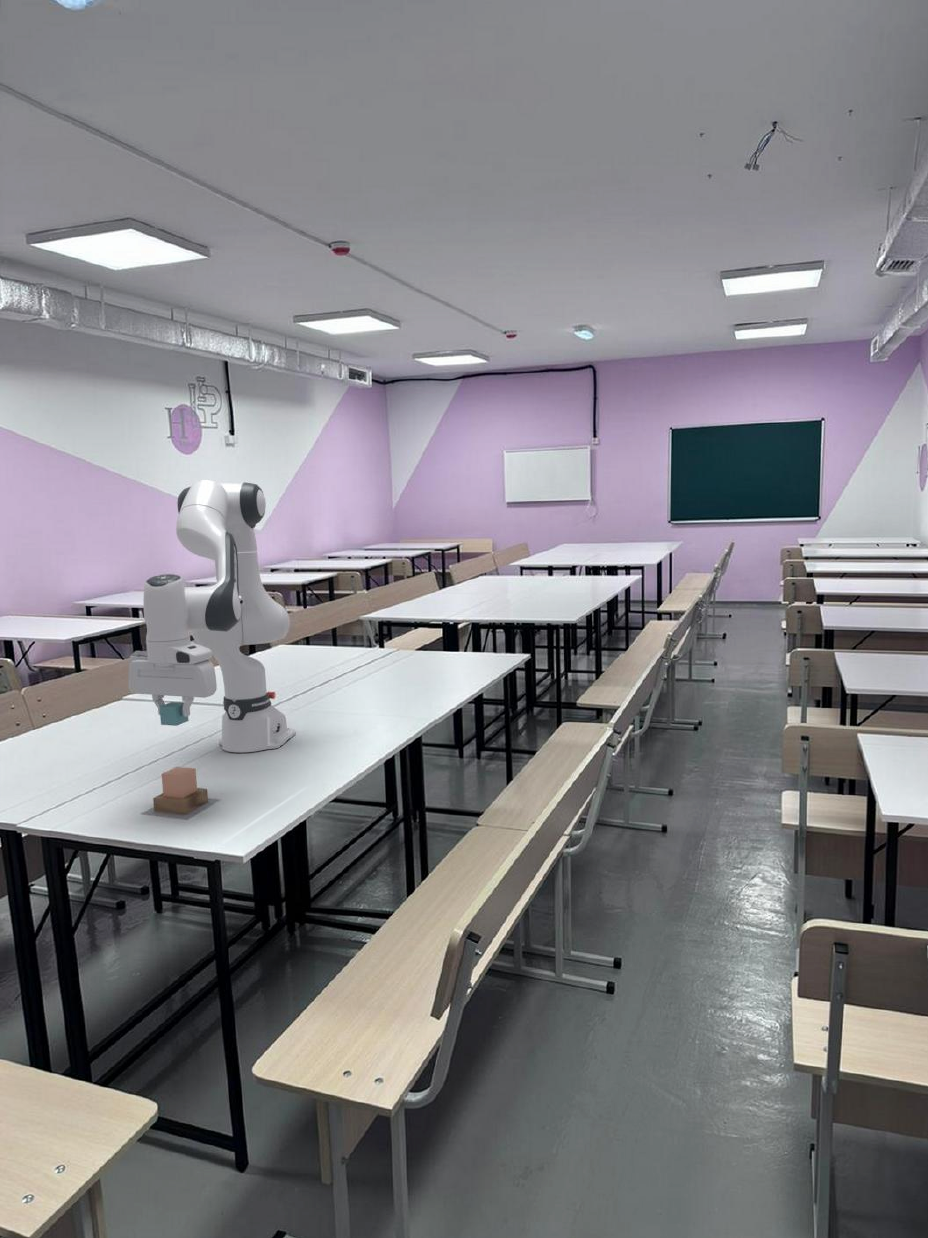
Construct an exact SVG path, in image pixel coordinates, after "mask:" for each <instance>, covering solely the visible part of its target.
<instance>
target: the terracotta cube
mask: <svg viewBox="0 0 928 1238" xmlns="http://www.w3.org/2000/svg"><path fill="white" fill-rule="evenodd" d="M196 770H197V768H194V767H184V766H174V767H172V768H171V769H169V770H167V771H165V772H163V773H161V782H162V793H163V796H166V797H176V798H184V797H186V796H188V795H190V794H192V793H193V792H195V791H197V788H198V783H197V771H196Z"/></svg>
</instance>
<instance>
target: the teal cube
mask: <svg viewBox="0 0 928 1238" xmlns="http://www.w3.org/2000/svg"><path fill="white" fill-rule="evenodd" d="M183 705H184V702H180V701H179V702H175V701H170V702H168V703H165V705H162V706H159V707H160V715H159V716H160V717H159V718H160V725H161V726H174V727H175V726H176V727H177V726H180V725H182V724H185V723H187V722H189V720H190V719H189V716H187V717H182V716H180V715H179V713H180V712H179V709H180V708H182V707H183Z"/></svg>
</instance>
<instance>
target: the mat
mask: <svg viewBox="0 0 928 1238" xmlns="http://www.w3.org/2000/svg"><path fill="white" fill-rule="evenodd" d="M220 801H222V799H220V798H210V797H208V802H207V803H205V804H204V805H202V806H200V807H198V808H197V809H195V810H193V811H191V812H190V813H188V814H186V815H181V814H172V813H163V812H154V806H152V807H151V808H149V809H147V810H144V811H143V812H141V813H140V815H143V816H153V817H161V818H162V817H163V818H169V819H180V820H189V819H190V818H193V817H195V816H196V815H198V814H200V813H201V812H203V811H205V810H206V809H208V808H209V807H211V806H213V805H215V804H216V803H217V804H218V803H219V802H220Z"/></svg>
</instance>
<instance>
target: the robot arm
mask: <svg viewBox="0 0 928 1238" xmlns="http://www.w3.org/2000/svg"><path fill="white" fill-rule="evenodd" d="M266 507H267V505H266V497H265V494H264V491H263V490H262V488H261V487H260V486H259V485H258V484H255V483H252V482H243V483H240V482H217V481H215V480H212V479H201V480H198V481H196V482H194V483H193V484H192V485H191V486H188V487H186V488H184V489H183V490H182V491H181V492H180V493H179V494H178V497H177V512H178V517H177V521H176V529H175V530H176V536H177V539H178V540H179V542H180V544H181V545H182V546H183V548H185V549H186V550H187V551H188V552H190V553H192V554H193V555H196V556H198V557H203V558H205V559H210V560H212V561H214V562H215V564H214V565H215V577H216V583H215V584H213V585H208V586H190V587H189V586H185V584H184V581H183V578H182V577H181V575H177V574H171V573H170V574H169V573H168V574H165V573H164V574H159V575H154V576H152V577H150V578H148V579H147V580H146V581H145V582H144V588H143V619H144V622H145V625H146V631H147V632H146V636H145V644H146V650H144V651H142V650H135V651H134V652H133V653H131V655H130V656H129V668H128V688H129V691H130V693H132V694H136V695H150V696H151V698H152V701H153V703H154V704H155V707H156V708H157V713H158V715H159V716H160V707H159V706H162V705H165V704H166V703H165V702H164V699H163V698H164V697H166V696H167V697H168V696H170V697H181V700H182V702H183V703H184V705H183V707H182V708H180V709H179V712H180V713H179V715H180V716H182V717H187V716H188V717H189V716H190V715H191V706H192V705H193V702H194V699H195V698H201V699H202V698H203V699H205V698H209V697H211V696H214V694H216V691H217V689H218V688H217V687H218V686H217V676H216V669H215V665H214V664H213V662H212V661H211V660H210V659H212V657H214V658H215V659H216V661H217V663H218V665H219V667H220V671H221V675H222V681H223V688H224V689H223V690H224V696H223V701H222V703H223V711H225V712H224V713H223V714H222V718H221V720H222V721H221V723H222V725H221V739H218V744H219V745H220V746H221V748H222V750H224V751H225V752H228V753H255V752H260V751H264V750H273V749H279V748H280V746H281V745H282V746H284V744H285V743H287V742H288V741H289V740H290V739H291V738H293V737H294V736H295V735H296V733H297V732H296V730H295V729H293V728H289V727H288V725H287V724H288V723H287V717H286V715H285V714H284V713H283V712H281V711H280V710H279V709H278V708H276V707H275V706H273V705H272V701H271V700H275V698H276V692H275V691H267V680H266V679H267V678H266V668H265V666H264V664H263V663H262V662H261V661H259V660H258V659H256V658H254V657H252V656H248V655H245V654H244V653H243V652H241V650H240V647H242V646H250V645H260V644H269V643H272V642H273V643H274V642H278V641H280V640H283V639H284V638H285V637H286V636H287V634H288V633H289V630H290V628H291V627H290V626H291V619H290V615H289V613H288V611H287V610H286V609H285V607H284V606H283V605H281V604H280V603H278V602H277V601H275V600H274V599H273V598H272V597H271V596H270V594H268V592H267V591H266V589H265V587H264V585H263V583H262V580H261V574H260V567H259V557H258V552H257V551H258V547H257V545H258V544H257V540H256V533H255V529H254V528H256V526H257V524H258V523H260V522H261V521H262V519H263V518H264V516H265V514H266ZM240 598H241V599H242V602H241V600H240ZM190 633H191V635H190ZM191 636H192V638H193V640H194V641H191ZM289 738H290V739H289ZM288 739H289V740H288ZM287 740H288V741H287ZM286 741H287V742H286ZM282 746H281V747H282Z"/></svg>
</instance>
